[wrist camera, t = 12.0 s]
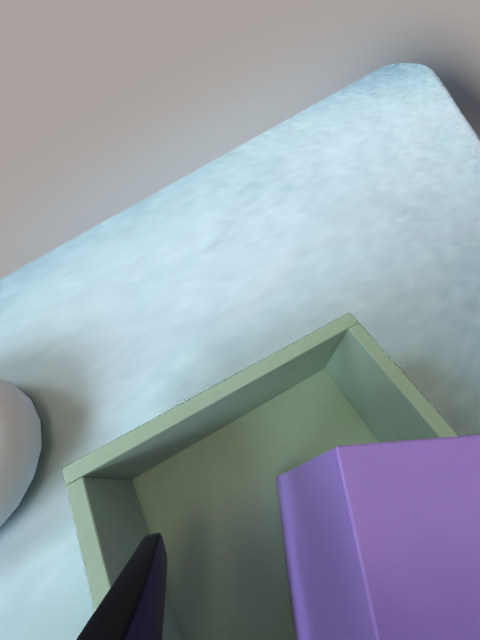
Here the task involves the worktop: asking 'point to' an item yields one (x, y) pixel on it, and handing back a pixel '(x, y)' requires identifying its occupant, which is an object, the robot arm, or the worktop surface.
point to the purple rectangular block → (385, 541)
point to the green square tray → (237, 478)
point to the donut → (16, 446)
